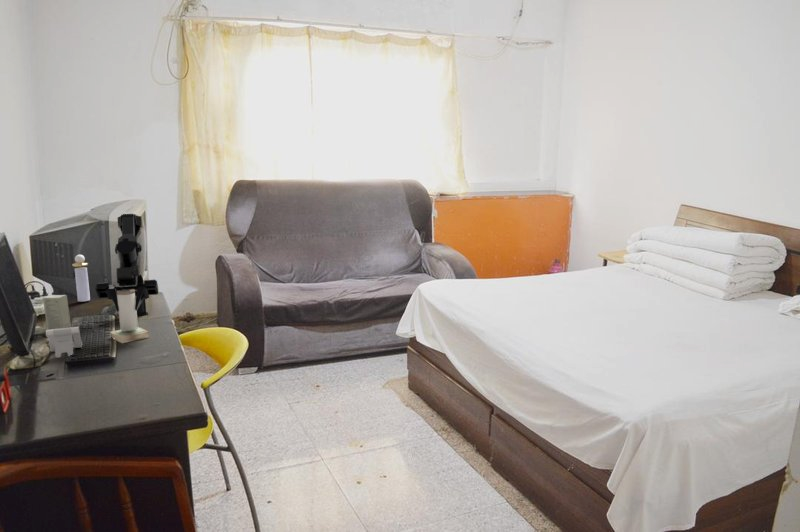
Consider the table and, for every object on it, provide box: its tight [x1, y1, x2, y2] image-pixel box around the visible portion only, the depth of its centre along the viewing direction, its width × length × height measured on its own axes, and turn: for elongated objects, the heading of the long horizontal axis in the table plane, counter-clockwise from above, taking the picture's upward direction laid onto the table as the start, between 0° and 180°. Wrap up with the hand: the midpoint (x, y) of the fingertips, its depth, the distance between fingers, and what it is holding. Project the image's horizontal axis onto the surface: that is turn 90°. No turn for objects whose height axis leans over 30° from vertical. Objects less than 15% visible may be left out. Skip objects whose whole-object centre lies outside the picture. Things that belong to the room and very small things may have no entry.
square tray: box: [109, 326, 150, 344], centre depth 197 cm, size 9×9×2 cm
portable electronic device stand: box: [45, 326, 84, 358], centre depth 181 cm, size 9×8×8 cm
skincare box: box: [42, 294, 72, 330], centre depth 205 cm, size 6×4×12 cm
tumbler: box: [117, 289, 139, 331], centre depth 195 cm, size 6×6×13 cm
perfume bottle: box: [71, 254, 91, 302], centre depth 243 cm, size 6×6×20 cm
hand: (126, 310), depth 194 cm, fingers closed on tumbler, 5 cm apart
